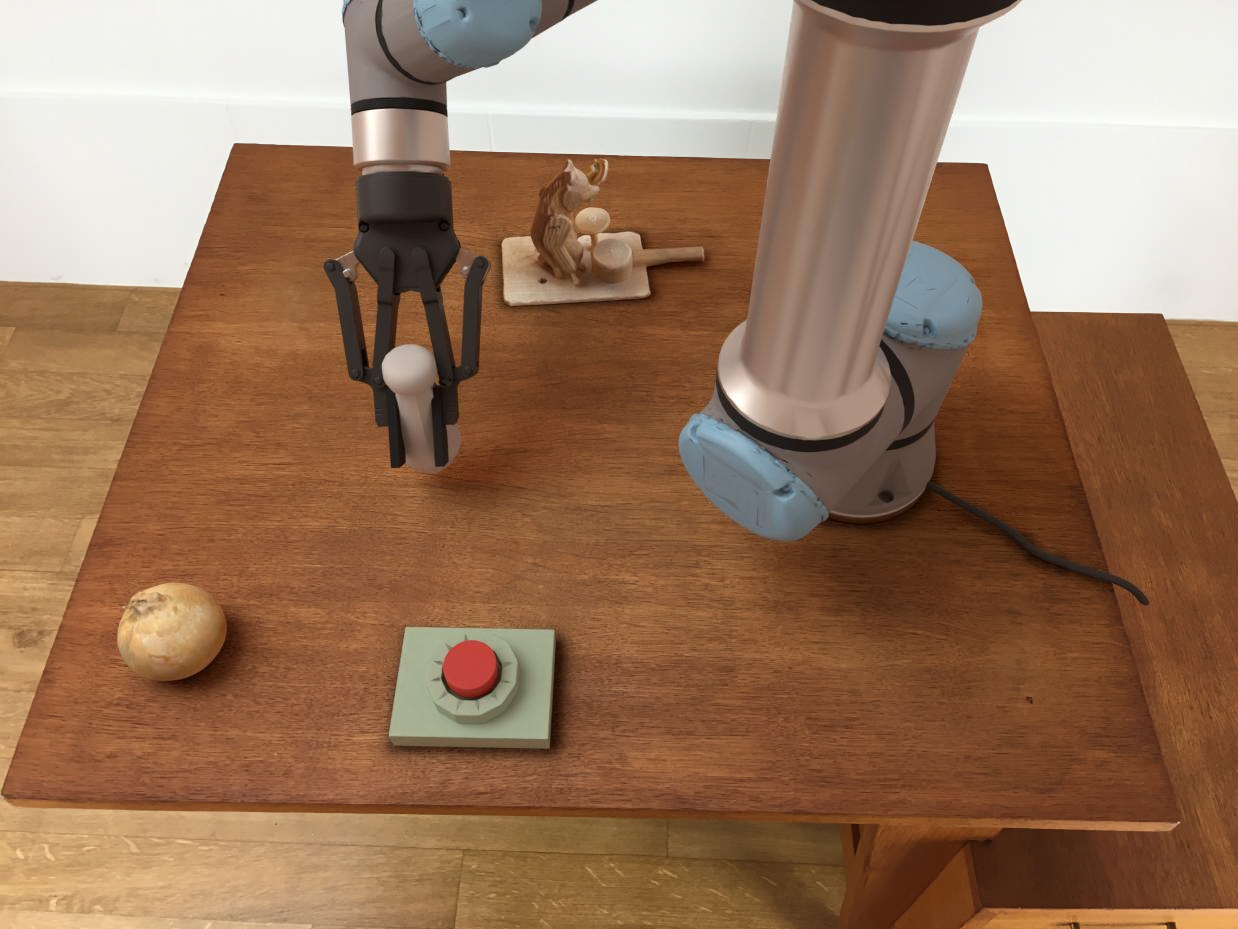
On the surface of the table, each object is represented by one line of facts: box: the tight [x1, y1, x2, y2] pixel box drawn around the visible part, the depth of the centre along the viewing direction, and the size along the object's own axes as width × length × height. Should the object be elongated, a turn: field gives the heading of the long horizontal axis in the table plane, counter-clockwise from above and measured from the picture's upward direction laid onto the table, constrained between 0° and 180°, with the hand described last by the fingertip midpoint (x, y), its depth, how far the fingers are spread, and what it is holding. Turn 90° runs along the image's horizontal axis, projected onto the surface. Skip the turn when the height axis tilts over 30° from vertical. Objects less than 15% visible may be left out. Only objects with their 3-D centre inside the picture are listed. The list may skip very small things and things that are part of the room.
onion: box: [116, 582, 228, 682], centre depth 76 cm, size 8×8×7 cm
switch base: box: [388, 626, 557, 750], centre depth 75 cm, size 12×9×4 cm
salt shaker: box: [382, 343, 462, 475], centre depth 81 cm, size 6×6×13 cm
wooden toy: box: [500, 158, 705, 307], centre depth 99 cm, size 22×10×14 cm, turn 94°
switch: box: [443, 640, 498, 698], centre depth 73 cm, size 4×4×2 cm
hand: (420, 464), depth 81 cm, fingers closed on salt shaker, 3 cm apart
